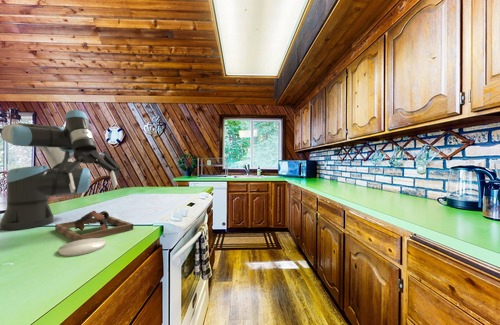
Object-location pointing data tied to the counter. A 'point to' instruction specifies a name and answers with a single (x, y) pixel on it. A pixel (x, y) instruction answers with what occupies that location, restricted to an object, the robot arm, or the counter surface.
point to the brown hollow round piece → (88, 219)
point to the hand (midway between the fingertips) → (95, 188)
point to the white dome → (82, 247)
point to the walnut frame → (75, 236)
